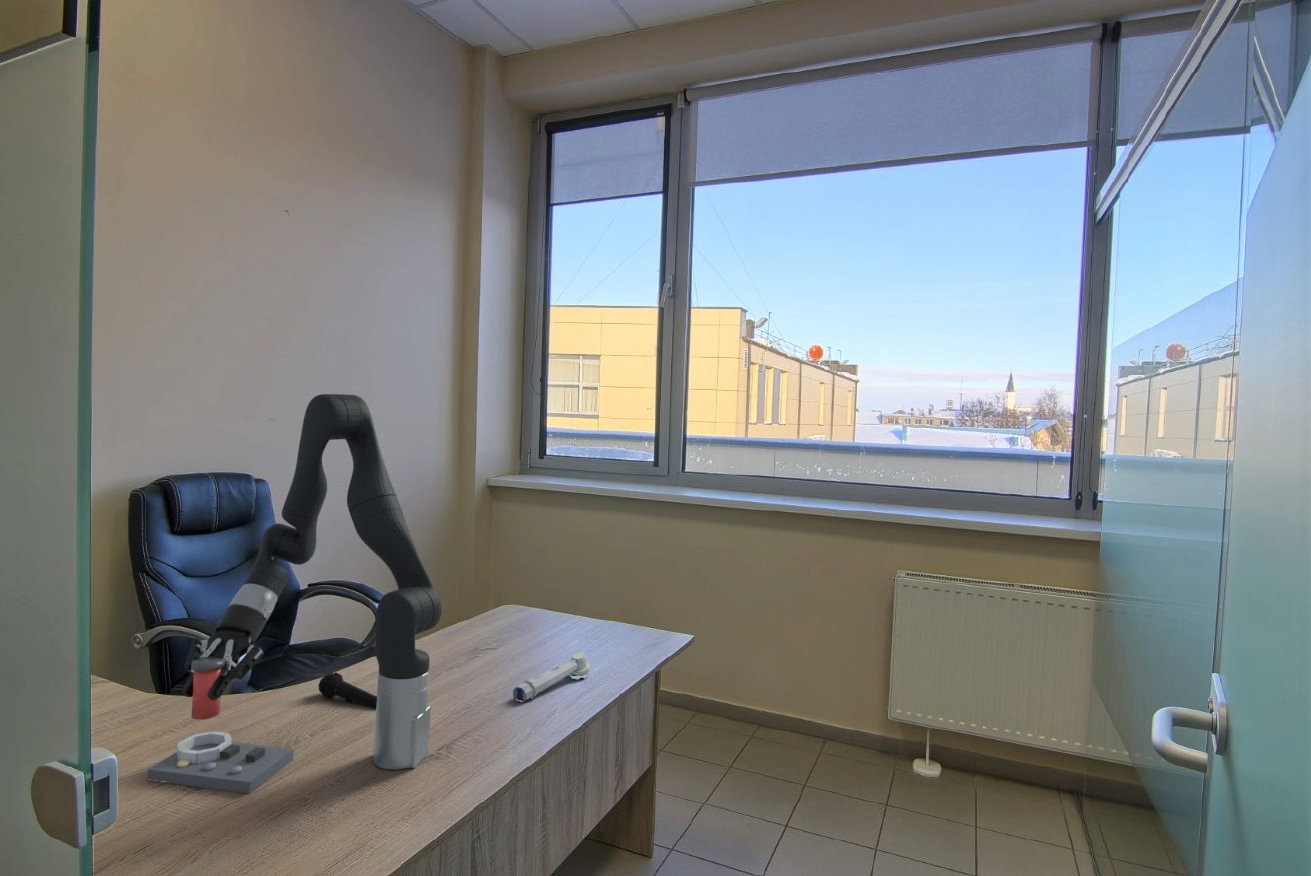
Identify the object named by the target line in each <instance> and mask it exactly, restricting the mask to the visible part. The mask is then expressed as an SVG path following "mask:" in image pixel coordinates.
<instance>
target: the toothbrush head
mask: <svg viewBox="0 0 1311 876" xmlns="http://www.w3.org/2000/svg"><path fill="white" fill-rule="evenodd" d="M590 669H591V663H590V662H588V659H587V656H586V654H585V653H584V652H576V653H574V654H573V655H572V657H571V659H569V660H567V661H565V662H563V663H561V664H559V665H557V666H555V667H553V668H551V669H549V670H546V671H545V672H543V673H540V674H538V675H536V676H535V677H532V678H531V679H525V680H524V681H523V682H522V683H521V684H519V685H518V686H515V688H514V689H513V690H512V697H513V698H515V699H518V700H521V701H523V703H525V702H526V701H525V700H527V699H528V700H530V699H531V697H534V698H535V697H536V696H537V695H538V694H540V693H541V692H543V691H545V690H547V689H548V688H549V687H551V686H552V685H554V684H556V683H558V682H559V681H561V680H562V679H564V678H566V677H567V676H568V675H569V674H570V675H571V676H583V675H586V674H588V672H589V671H590ZM589 673H590V672H589ZM539 692H540V693H539ZM529 698H530V699H529ZM515 699H514V700H515ZM528 700H527V701H528ZM524 701H525V702H524Z"/></svg>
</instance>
